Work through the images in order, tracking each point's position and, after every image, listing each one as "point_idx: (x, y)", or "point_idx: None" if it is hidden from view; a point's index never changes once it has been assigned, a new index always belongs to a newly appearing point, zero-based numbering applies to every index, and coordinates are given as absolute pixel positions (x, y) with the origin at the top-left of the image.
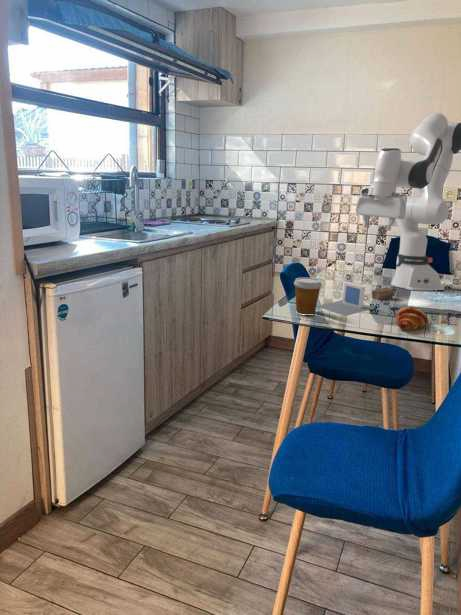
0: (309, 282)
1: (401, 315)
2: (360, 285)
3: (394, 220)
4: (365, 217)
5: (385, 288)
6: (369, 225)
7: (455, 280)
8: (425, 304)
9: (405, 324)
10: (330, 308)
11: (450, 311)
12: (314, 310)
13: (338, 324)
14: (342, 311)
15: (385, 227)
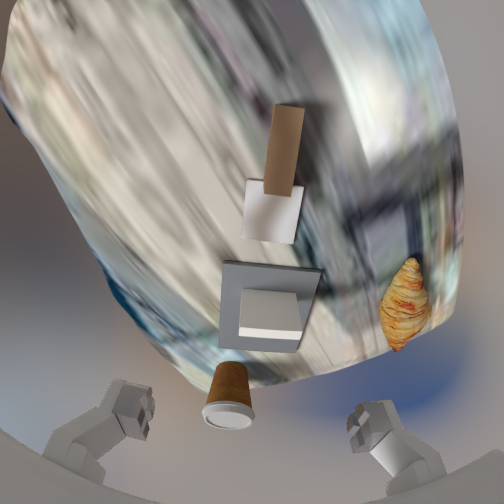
0: (237, 423)
1: (394, 343)
2: (288, 332)
3: (435, 466)
4: (101, 475)
5: (281, 125)
6: (142, 405)
7: None
8: (397, 109)
9: (399, 350)
10: (248, 340)
11: (452, 141)
12: (247, 375)
13: (302, 374)
14: (277, 340)
15: (354, 438)
